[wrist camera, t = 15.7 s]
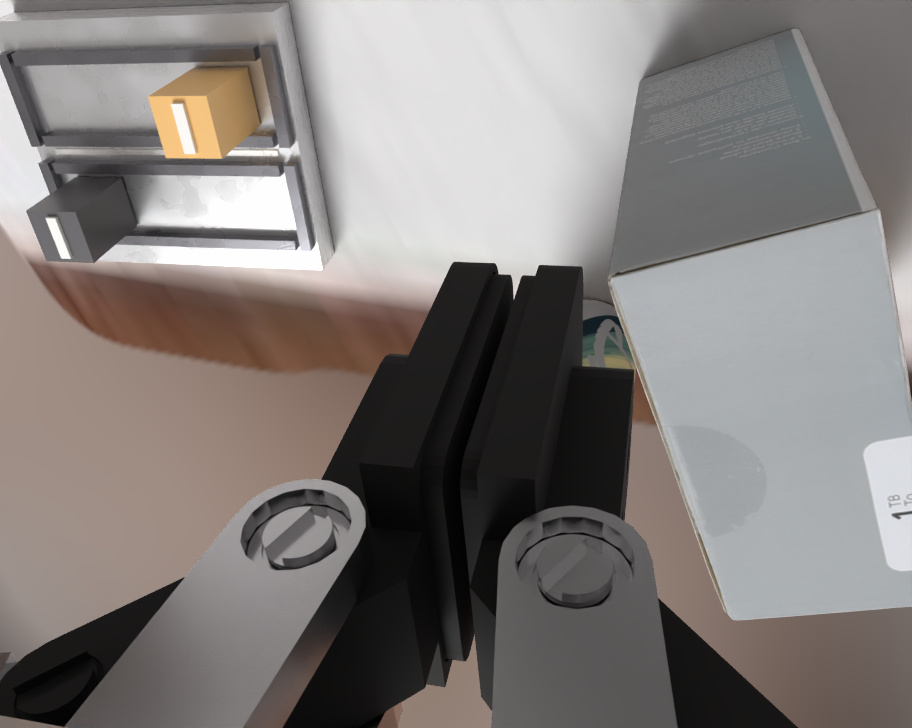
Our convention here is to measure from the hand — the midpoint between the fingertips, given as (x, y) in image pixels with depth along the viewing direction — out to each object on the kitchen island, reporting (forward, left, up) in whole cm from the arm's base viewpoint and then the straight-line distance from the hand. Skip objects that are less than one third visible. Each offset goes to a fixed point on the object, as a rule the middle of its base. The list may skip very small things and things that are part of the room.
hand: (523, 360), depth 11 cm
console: (+9, -25, -32) cm, 42 cm away
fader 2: (+6, -20, -30) cm, 37 cm away
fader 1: (+12, -30, -30) cm, 44 cm away
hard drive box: (+12, +6, -32) cm, 35 cm away
